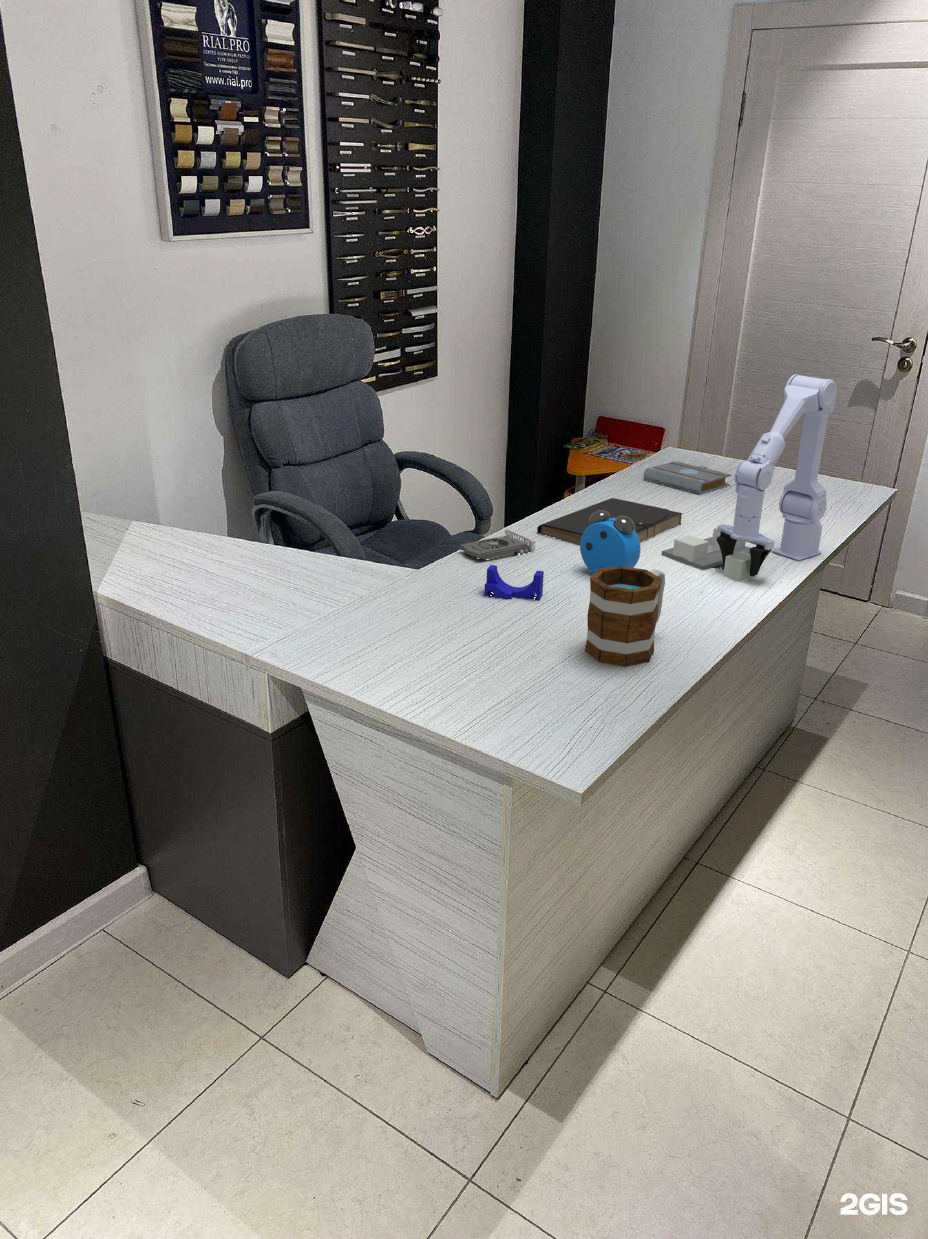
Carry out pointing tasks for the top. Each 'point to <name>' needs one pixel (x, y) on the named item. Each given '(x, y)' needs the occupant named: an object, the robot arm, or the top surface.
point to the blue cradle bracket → (507, 591)
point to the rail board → (712, 557)
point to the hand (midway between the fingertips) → (740, 570)
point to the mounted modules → (696, 546)
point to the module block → (738, 566)
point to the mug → (623, 614)
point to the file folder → (643, 516)
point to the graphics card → (499, 546)
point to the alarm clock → (609, 542)
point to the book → (687, 477)
